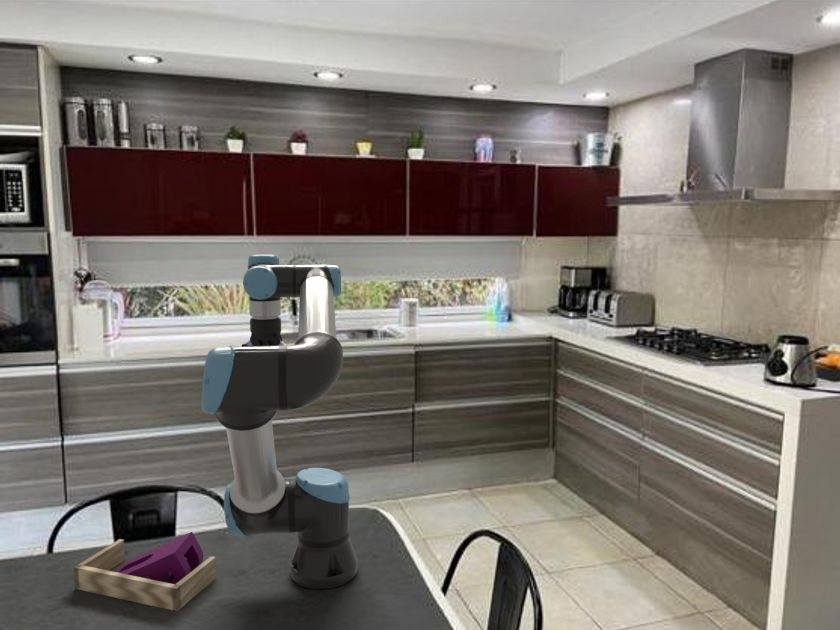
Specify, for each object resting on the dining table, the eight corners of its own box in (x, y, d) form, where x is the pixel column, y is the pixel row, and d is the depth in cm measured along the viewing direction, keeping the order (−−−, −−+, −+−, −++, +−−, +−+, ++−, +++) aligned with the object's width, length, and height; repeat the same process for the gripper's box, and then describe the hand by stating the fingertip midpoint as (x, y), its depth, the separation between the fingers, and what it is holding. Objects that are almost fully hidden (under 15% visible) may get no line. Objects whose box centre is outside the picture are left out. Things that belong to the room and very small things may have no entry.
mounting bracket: (121, 617, 138) (193, 586, 136) (102, 584, 137) (174, 552, 135) (141, 593, 147) (209, 563, 145) (124, 561, 146) (192, 531, 144)
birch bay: (216, 577, 143) (215, 557, 142) (177, 611, 130) (176, 588, 129) (120, 558, 150) (119, 539, 150) (75, 588, 138) (73, 567, 137)
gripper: (296, 316, 159) (298, 407, 162) (250, 313, 163) (253, 403, 166) (281, 320, 152) (283, 415, 155) (234, 317, 156) (237, 410, 159)
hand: (268, 409), depth 161 cm, fingers closed
